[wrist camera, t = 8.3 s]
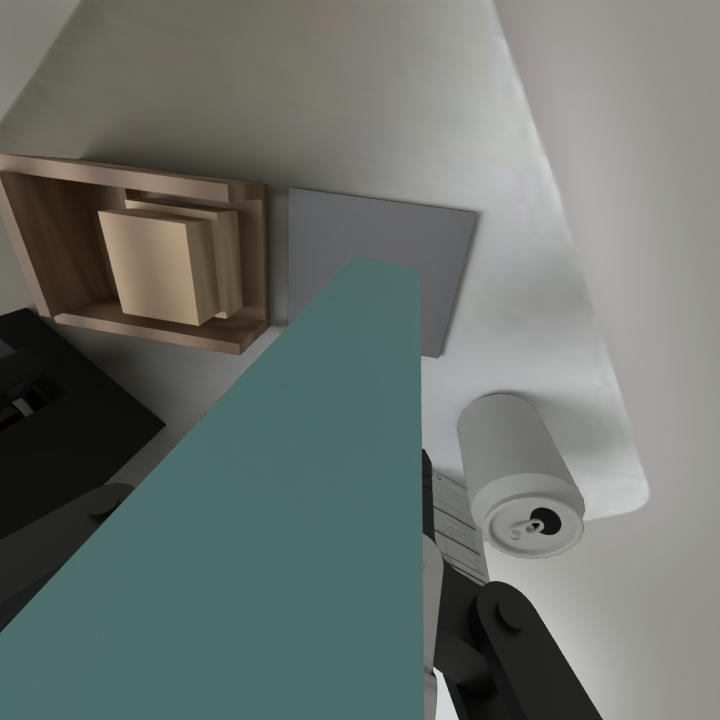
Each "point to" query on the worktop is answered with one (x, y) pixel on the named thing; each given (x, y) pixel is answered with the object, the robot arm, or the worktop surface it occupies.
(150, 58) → the worktop surface
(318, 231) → the charcoal mat
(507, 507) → the can
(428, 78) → the worktop surface
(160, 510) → the teal board
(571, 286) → the worktop surface
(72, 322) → the walnut rack
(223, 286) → the lower offcut
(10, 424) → the coffee maker
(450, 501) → the supplement box
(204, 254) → the upper offcut
